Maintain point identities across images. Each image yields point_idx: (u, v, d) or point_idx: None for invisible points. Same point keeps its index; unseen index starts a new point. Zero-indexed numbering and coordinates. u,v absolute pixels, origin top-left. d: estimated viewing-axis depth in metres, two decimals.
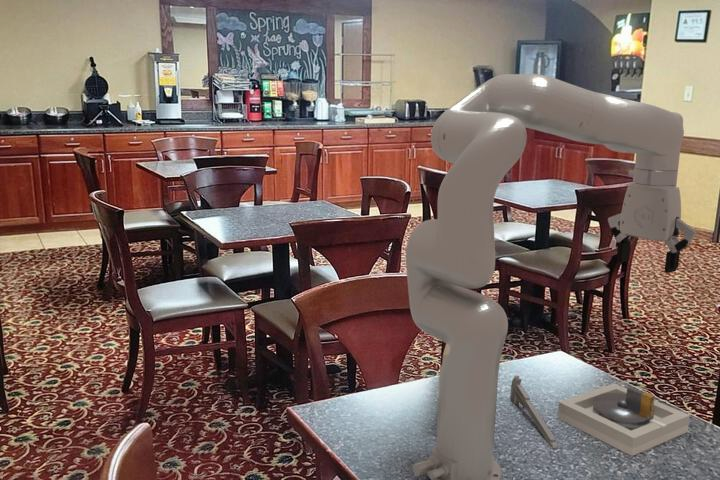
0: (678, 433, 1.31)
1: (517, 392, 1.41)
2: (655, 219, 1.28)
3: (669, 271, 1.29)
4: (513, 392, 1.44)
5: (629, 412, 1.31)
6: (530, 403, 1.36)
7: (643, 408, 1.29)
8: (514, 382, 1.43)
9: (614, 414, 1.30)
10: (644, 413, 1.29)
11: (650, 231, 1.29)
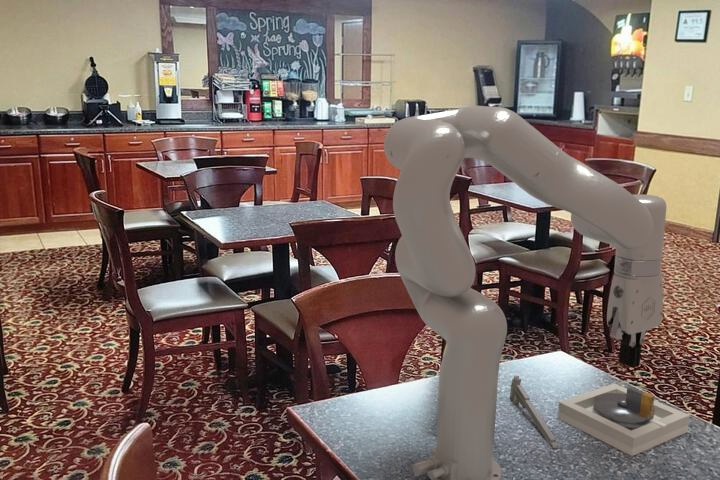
0: (678, 433, 1.31)
1: (517, 392, 1.41)
2: (656, 306, 1.21)
3: None
4: (513, 392, 1.44)
5: (629, 412, 1.31)
6: (530, 403, 1.36)
7: (643, 408, 1.29)
8: (514, 382, 1.43)
9: (614, 414, 1.30)
10: (644, 413, 1.29)
11: (652, 320, 1.21)
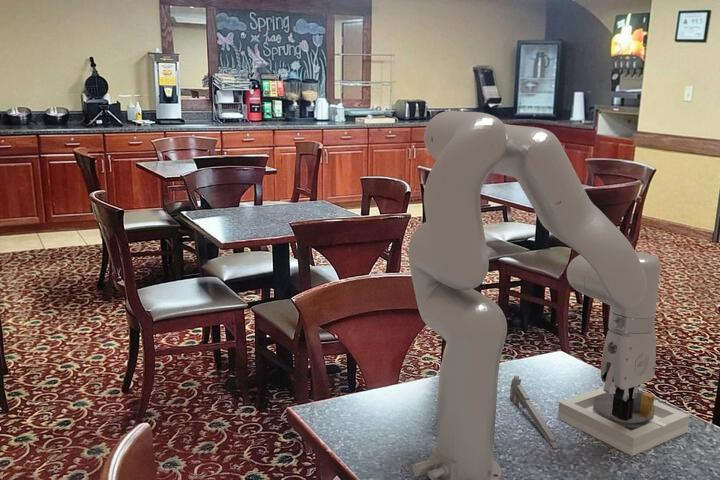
0: (678, 433, 1.31)
1: (517, 392, 1.41)
2: (649, 362, 1.23)
3: None
4: (513, 392, 1.44)
5: None
6: (530, 403, 1.36)
7: (643, 408, 1.29)
8: (514, 382, 1.43)
9: None
10: (644, 413, 1.29)
11: (645, 375, 1.24)
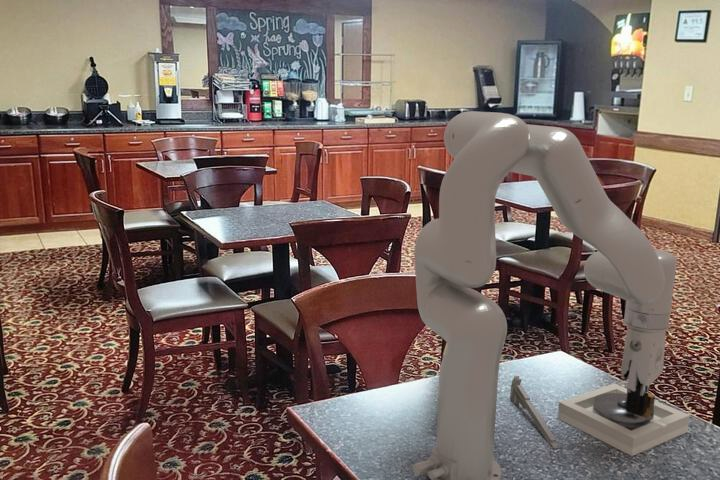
0: (678, 433, 1.31)
1: (517, 392, 1.41)
2: (662, 355, 1.26)
3: None
4: (513, 392, 1.44)
5: None
6: (530, 403, 1.36)
7: None
8: (514, 382, 1.43)
9: (615, 414, 1.30)
10: (645, 413, 1.29)
11: (659, 369, 1.26)
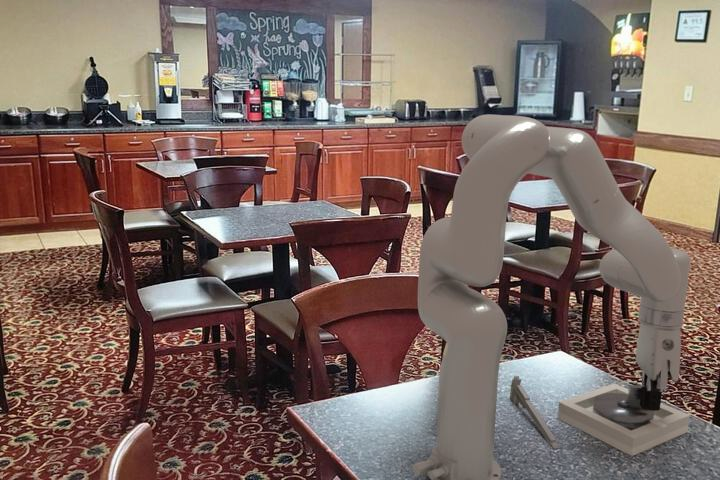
0: (678, 433, 1.31)
1: (517, 392, 1.41)
2: None
3: None
4: (513, 392, 1.44)
5: (639, 409, 1.32)
6: (530, 403, 1.36)
7: None
8: (514, 382, 1.43)
9: (638, 417, 1.29)
10: None
11: None
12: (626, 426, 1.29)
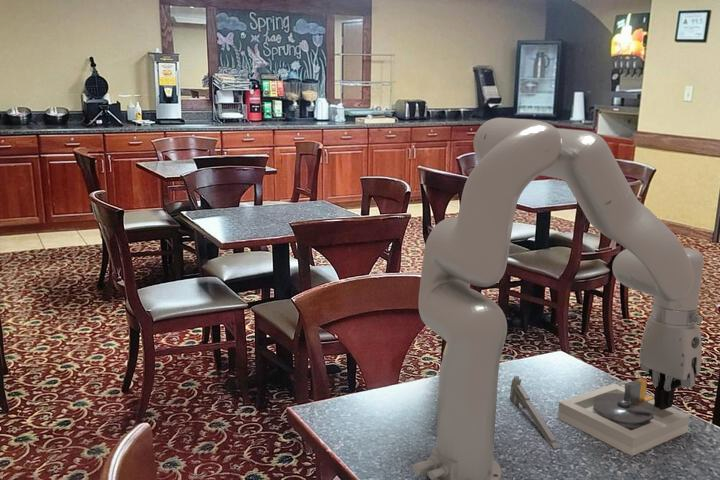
0: (678, 433, 1.31)
1: (517, 392, 1.41)
2: None
3: None
4: (513, 392, 1.44)
5: (639, 405, 1.34)
6: (530, 403, 1.36)
7: (641, 394, 1.36)
8: (514, 382, 1.43)
9: (650, 412, 1.31)
10: (642, 397, 1.36)
11: None
12: None
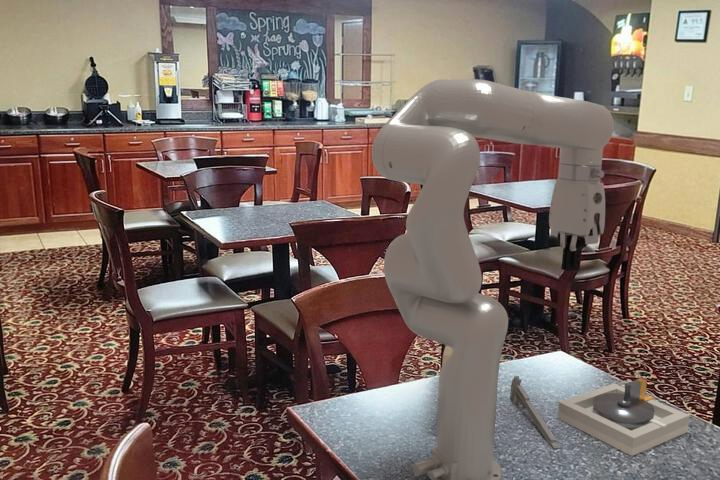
0: (678, 433, 1.31)
1: (517, 392, 1.41)
2: None
3: None
4: (513, 392, 1.44)
5: (639, 405, 1.34)
6: (530, 403, 1.36)
7: (641, 394, 1.36)
8: (514, 382, 1.43)
9: (650, 412, 1.31)
10: (642, 397, 1.36)
11: None
12: None
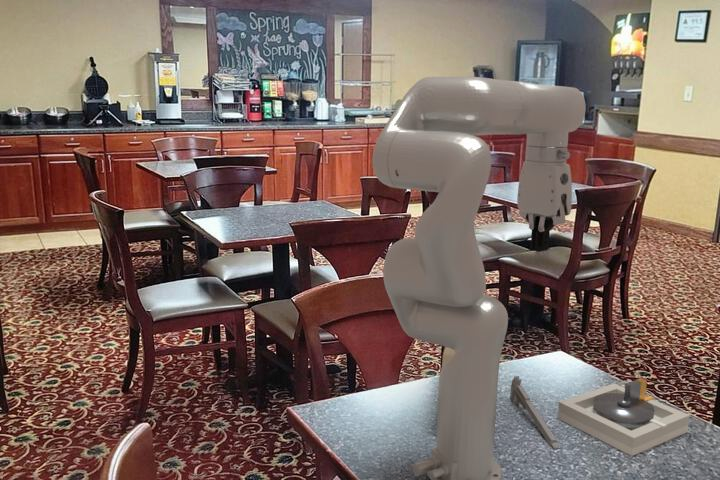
0: (678, 433, 1.31)
1: (517, 392, 1.41)
2: None
3: None
4: (513, 392, 1.44)
5: (639, 405, 1.34)
6: (530, 403, 1.36)
7: (641, 394, 1.36)
8: (514, 382, 1.42)
9: (650, 412, 1.31)
10: (642, 397, 1.36)
11: None
12: None
